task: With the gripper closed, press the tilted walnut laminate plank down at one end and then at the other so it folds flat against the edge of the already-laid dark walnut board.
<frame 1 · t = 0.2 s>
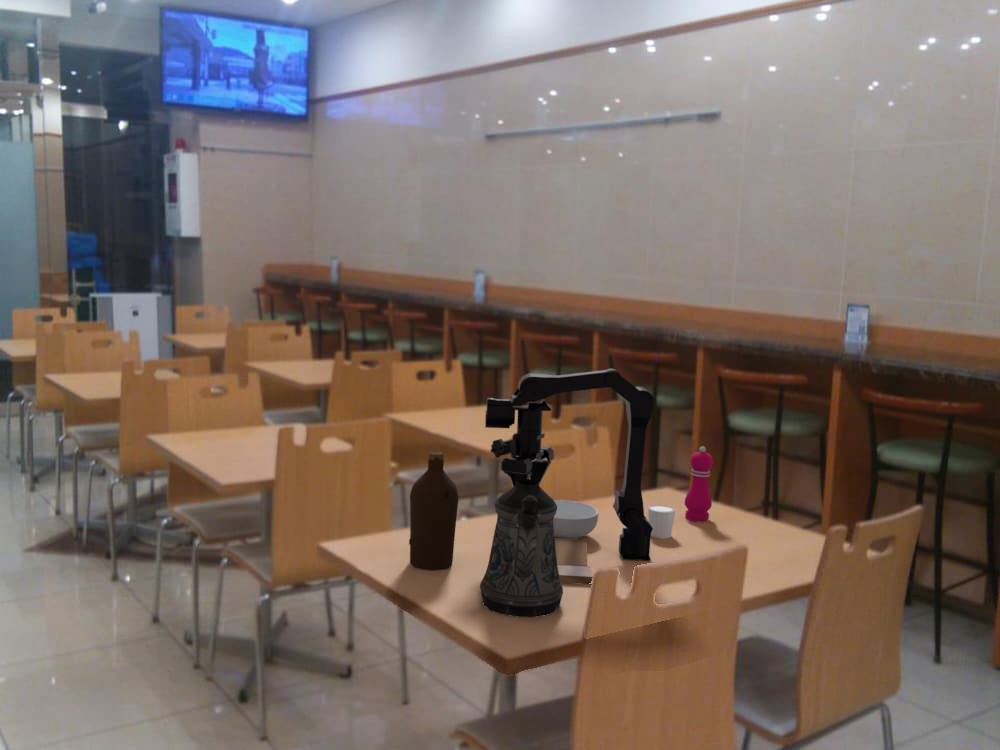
hand: (526, 495, 233), 13 cm above the table, tool pointing down, fingers open, 9 cm apart
plank: (548, 552, 224), point 3 cm above the table, hinge at 35.0°
olive oil: (430, 564, 222), on the table
laid board: (549, 576, 218), on the table
pepper mill: (696, 519, 273), on the table
shot glass: (659, 536, 255), on the table
ornate coffee pot: (524, 606, 200), on the table
cereal bowl: (562, 536, 249), on the table
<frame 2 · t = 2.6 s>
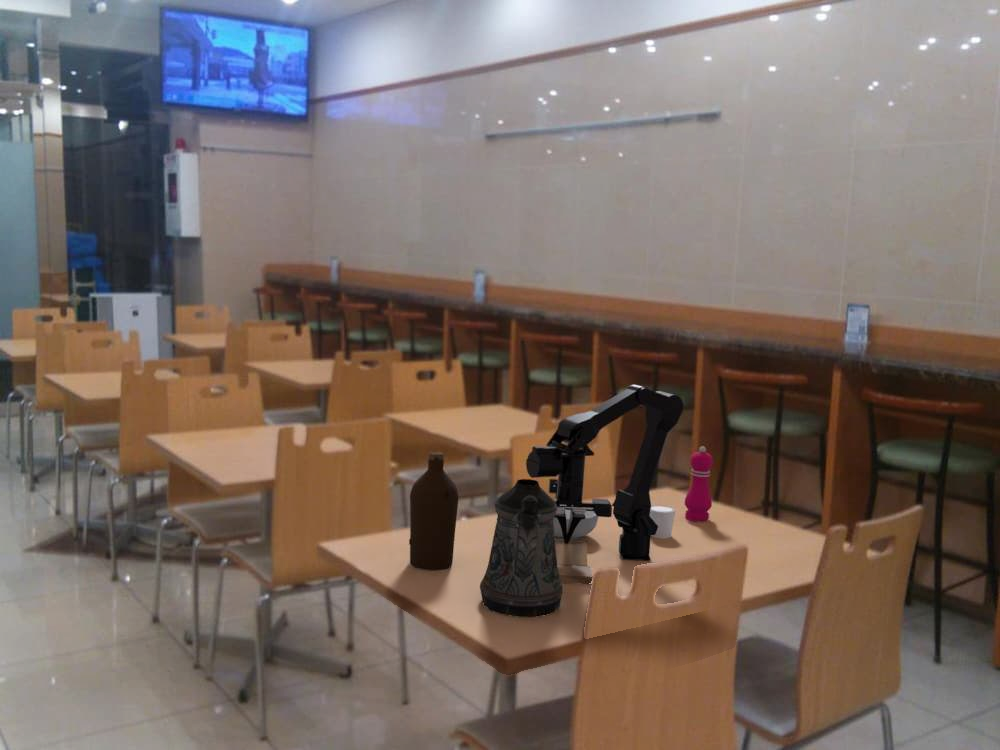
hand: (566, 543, 226), 5 cm above the table, tool pointing down, fingers closed, pressing on plank
plank: (548, 553, 224), point 3 cm above the table, hinge at 32.7°, touching gripper
everything else where it was.
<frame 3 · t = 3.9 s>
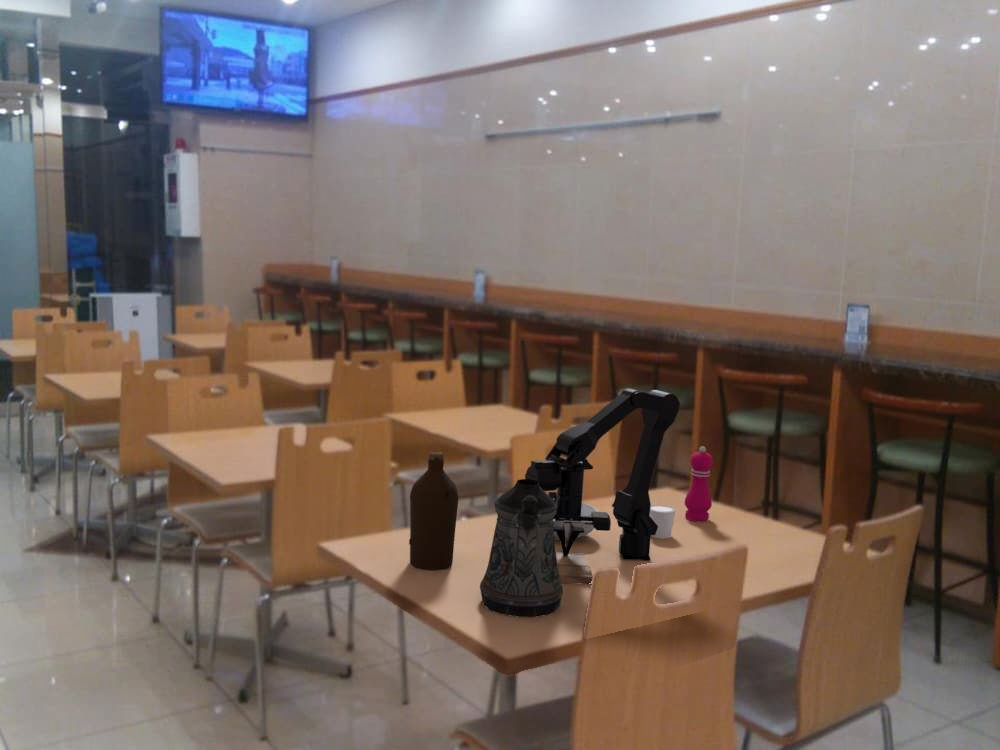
hand: (565, 556, 227), 2 cm above the table, tool pointing down, fingers closed, pressing on plank
plank: (548, 560, 225), point 1 cm above the table, hinge at 3.8°, touching gripper
everything else where it was.
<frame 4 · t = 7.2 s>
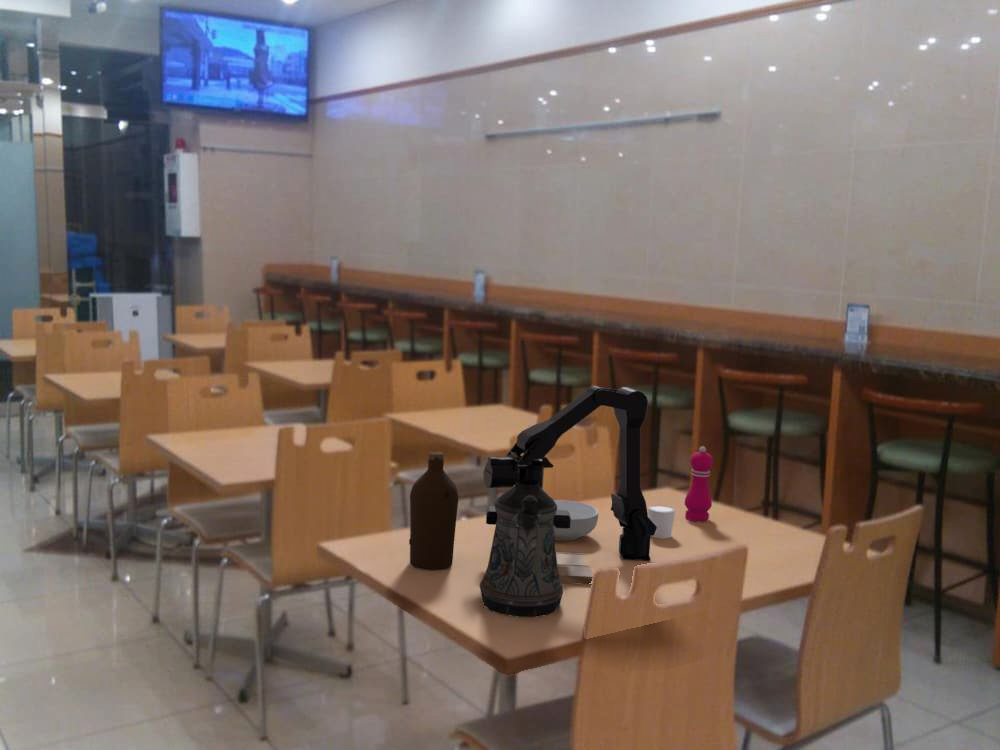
hand: (525, 554, 226), 2 cm above the table, tool pointing down, fingers closed, pressing on plank
plank: (548, 560, 225), point 1 cm above the table, hinge at 3.7°, touching gripper
everything else where it was.
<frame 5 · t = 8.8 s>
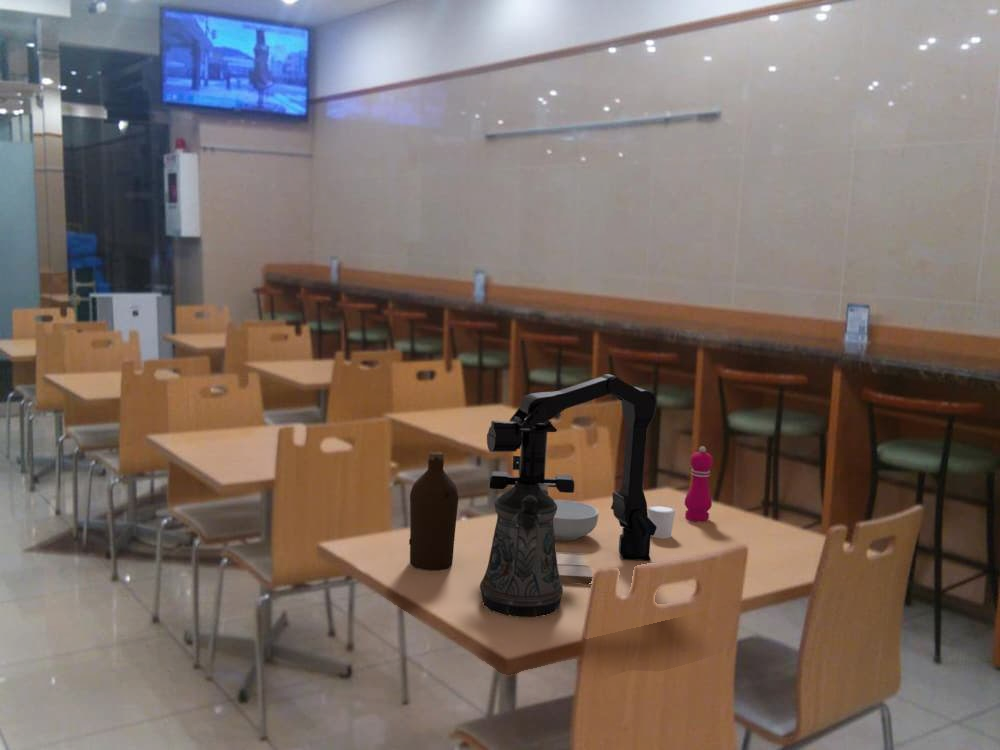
hand: (529, 519, 226), 10 cm above the table, tool pointing down, fingers closed
plank: (548, 560, 225), point 1 cm above the table, hinge at 3.7°
everything else where it was.
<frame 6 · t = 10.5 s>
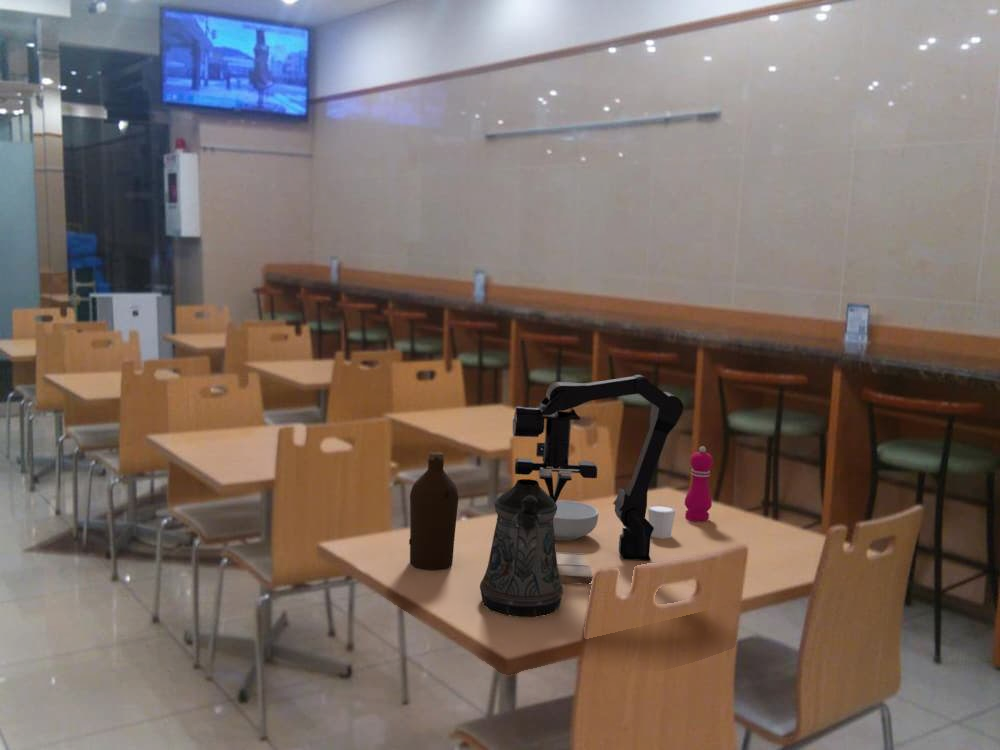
hand: (553, 504, 232), 12 cm above the table, tool pointing down, fingers closed
nothing on the table moved.
at the end: plank at +4° (first picture: +35°); the gripper is holding nothing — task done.
